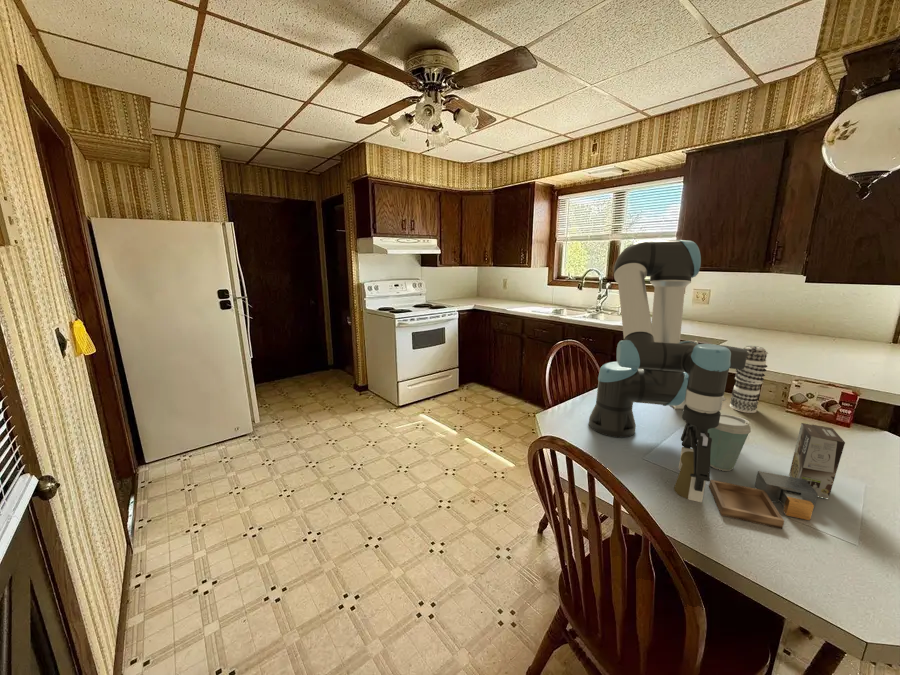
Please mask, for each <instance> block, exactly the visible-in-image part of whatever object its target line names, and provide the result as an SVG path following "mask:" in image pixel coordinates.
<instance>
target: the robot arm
mask: <svg viewBox="0 0 900 675" xmlns="http://www.w3.org/2000/svg"><path fill="white" fill-rule="evenodd" d="M701 264H702V256H701V251H700V248H699V246H698V244H697V243H696V242H694V241H693V240H685V239H664V240H663V239H662V240H656V239H655V240H653V239H652V240H651V239H650V240H648V239H647V240H646V239H645V240H638V241H636V242H633V243H631V244H630V245H628V246H627V247H626V248H625V249H623V251H621V253H620V254H619V255H618V256H617V258H616V260H615V263H614V266H613V279H614V281H615V282H616V283H617V286H618V294H619V295H618V296H619V305H620V314H621V323H622V325H621V326H622V333H623V334H622V335H623V340H622V339H621V340H619V342H618V343H617V345H616V346H617V347H616V361H609V362H606V363H604V364H602V366H601V367H600V369H599V373H598V377H597V380H598V384H597V391H596V392H597V393H596V400H595V401H596V402H595V405H594V407H593V409H592V411H591V413H590V415H589V416H588V417H589V418H588V426H589V425H590V426H589V427H590V428H591V429H592V430H593V431H595V432H597V433H599V434H601V435H604V436H608V437H613V438H628V437H631V436H633V435H635V433H636V429H637V428H636V427H637V426H636V420H635V416H634V413H633V412H634V411H633V408H634V407H633V406H634V403H639V404H648V405H660V406H664V407H666V406H670V407H671V406H677V405H680V404H681V403H682V402H683V401H684V400H685V402H684V403H685V404H686V405H684V409H683V410H682V416H681V417H682V419H683V421H684V422H685V425H684V428H683V431H682V434H681V437H680V441H681V451H680V457H679V464H678V470H679V471H680V470H681V467H682V462H681V456H682V454H683V453H684V452H687V451H691V452H693V459H694V474H692V473H691V474H690V476H691V483H690V489H689V495H688V499H687V500H689V501H693V502H694V501H695V502H697V503H698V502H699V503H703V498H704V493H705V487H706V482H710V480H711V475H710V474H711V466H710V455H711V443H712V438H710V434H709V433H708V429H710V428H716V427H717V426H718V425H719V420H720V415H721V414H722V413H721V411H722V406H723V402H725V401H726V400H727V398H726V397H725V396H724V395H725V392H726V385H727V382H728V378H729V377H728V376H729V370H730V369H731V368H730V364H731V362H730V359H731V351H730V350H729V349H728V348H726V347H722V346H719V345H720V344H714V343H698V344H697V343H696V342H694V341H691V340H683V341H682V342H681V336H682V335H681V332H682V326H683V325H682V324H683V313H684V302H685V301H684V299H685V292H686V291H685V289H686V287H687V286H688V285H689V284H691V283H692V279H693V278H694V277H697V276H698V274H699V273H700V268H701V266H702V265H701ZM646 277H650V278H649V283H650V284H651V285H652V286H653V287H654V291H653V292H654V293H653V302H652V305H653V306H652V312H650V304H649V300H648V299H649V298H648V293H647V287H646V280H645V279H646ZM651 313H652V316H651ZM688 375H689V376H688Z"/></svg>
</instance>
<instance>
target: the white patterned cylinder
mask: <svg viewBox="0 0 900 675" xmlns="http://www.w3.org/2000/svg"><path fill="white" fill-rule="evenodd" d="M742 349H746V350H747V358H746V363H745V367H744V369H735V372H736V373H735V374H734V376H735V377H734V380H735V383H734V386H733V389H732V392H731V397H730V401H729V402H730V404H729V407H730V408H731V409H733V410H735V411H738V412H741V413H746V414H747V413H748V414H754V413H757V409H758V405H759V400H760V398H759V397H760V396H761V394H760V392H761V389H760V388H761V385H762V384H763V381H764V380H765V378H764V377H765V376H766V375H765V372H767V369H766V368H768V365H767V356H768V354H769V353H768V351H767V350H766V349H765V348H764V347H761V346H757V345H745V347H743V348H742Z"/></svg>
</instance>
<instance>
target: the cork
mask: <svg viewBox="0 0 900 675" xmlns="http://www.w3.org/2000/svg"><path fill="white" fill-rule="evenodd" d="M681 462H682V467H681V470H679V474H678V476H677V479H676V481H675V484H674V487H673V490H674V492H675V493H676V494H677V495H678V496H680V497H682V498H684V499H687V500H689V499H688V495H689V489H690V483H691V476H690V474H691V473H692V474H694V459H693V452H691V451H687V452H684V453H683V454H682V456H681Z"/></svg>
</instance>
